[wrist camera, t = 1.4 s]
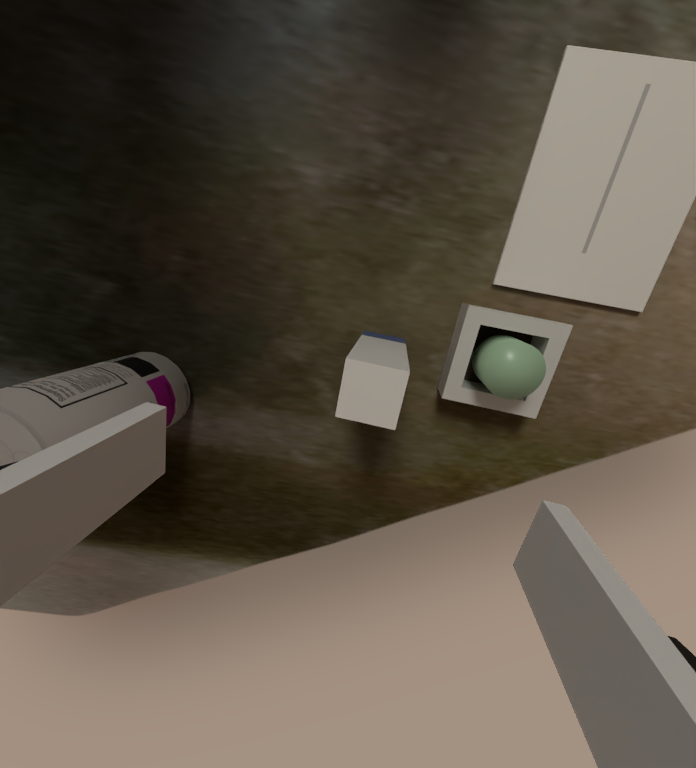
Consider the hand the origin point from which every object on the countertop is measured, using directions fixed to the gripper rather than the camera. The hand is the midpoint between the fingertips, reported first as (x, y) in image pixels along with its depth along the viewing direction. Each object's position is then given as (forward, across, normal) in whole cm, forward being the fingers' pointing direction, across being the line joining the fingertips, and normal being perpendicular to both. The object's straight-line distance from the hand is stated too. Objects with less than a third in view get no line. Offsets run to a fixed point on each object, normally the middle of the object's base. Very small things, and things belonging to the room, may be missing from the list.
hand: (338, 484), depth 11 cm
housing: (+21, +10, +2) cm, 23 cm away
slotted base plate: (+21, +14, +17) cm, 30 cm away
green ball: (+19, +10, +3) cm, 22 cm away
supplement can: (+21, -22, -8) cm, 32 cm away
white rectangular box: (+21, 0, 0) cm, 21 cm away
